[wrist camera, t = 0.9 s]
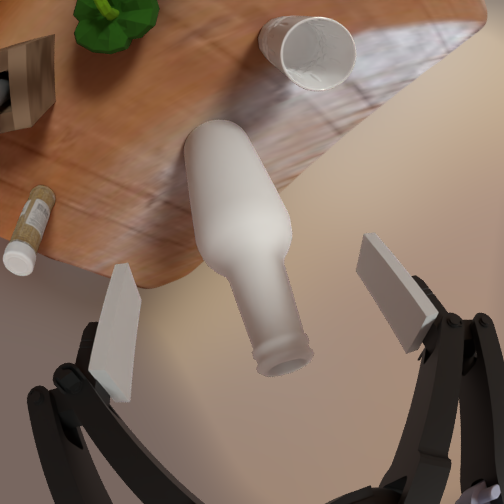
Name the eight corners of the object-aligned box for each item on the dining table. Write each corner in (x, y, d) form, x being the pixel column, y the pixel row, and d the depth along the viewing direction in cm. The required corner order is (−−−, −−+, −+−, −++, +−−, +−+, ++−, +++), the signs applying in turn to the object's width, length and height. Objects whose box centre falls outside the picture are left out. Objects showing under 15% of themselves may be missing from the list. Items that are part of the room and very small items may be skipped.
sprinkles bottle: (26, 187, 33) (-5, 255, 24) (50, 181, 34) (22, 249, 25) (37, 211, 36) (13, 279, 27) (60, 205, 37) (39, 275, 28)
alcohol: (222, 104, 33) (321, 321, 14) (259, 148, 40) (361, 348, 20) (169, 146, 36) (194, 382, 17) (211, 183, 42) (266, 392, 23)
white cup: (324, 51, 30) (366, 70, 24) (273, 79, 32) (304, 104, 26) (295, 2, 24) (336, 5, 18) (240, 31, 27) (264, 40, 20)
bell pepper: (160, 40, 25) (156, 51, 19) (91, 51, 23) (63, 69, 17) (163, -23, 19) (159, -37, 13) (90, -12, 17) (60, -17, 11)
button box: (-7, 51, 17) (-41, 68, 12) (54, 34, 20) (26, 44, 14) (-1, 113, 23) (-31, 141, 18) (55, 101, 26) (31, 126, 21)
